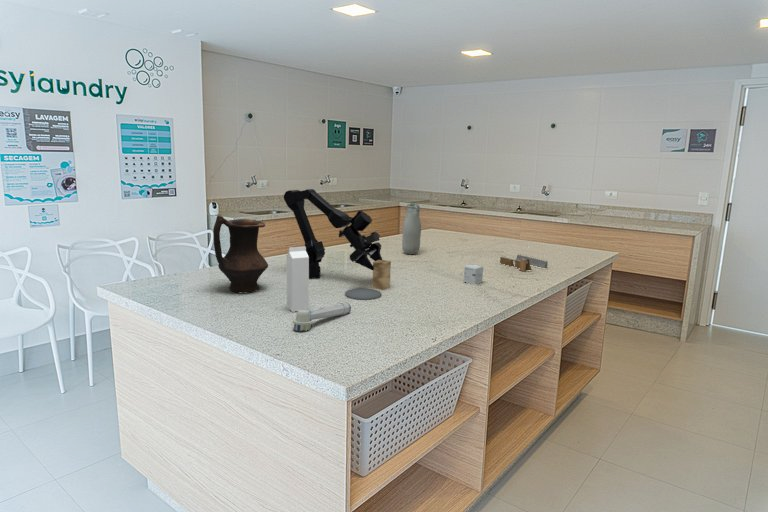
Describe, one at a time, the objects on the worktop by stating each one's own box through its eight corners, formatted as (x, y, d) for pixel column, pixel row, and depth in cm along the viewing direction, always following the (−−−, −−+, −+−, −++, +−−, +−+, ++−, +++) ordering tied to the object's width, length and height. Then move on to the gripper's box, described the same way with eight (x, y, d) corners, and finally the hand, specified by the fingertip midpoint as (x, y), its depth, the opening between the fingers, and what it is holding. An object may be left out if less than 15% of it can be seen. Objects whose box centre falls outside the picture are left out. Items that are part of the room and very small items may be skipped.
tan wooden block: (372, 288, 208) (373, 262, 206) (378, 285, 213) (378, 259, 211) (384, 290, 206) (385, 263, 204) (389, 287, 211) (390, 261, 209)
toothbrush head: (353, 303, 174) (303, 310, 153) (351, 322, 175) (301, 332, 154) (341, 300, 177) (290, 307, 156) (339, 319, 178) (288, 328, 157)
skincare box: (463, 282, 223) (464, 266, 221) (470, 280, 227) (471, 264, 226) (474, 285, 219) (476, 268, 217) (482, 283, 223) (483, 266, 222)
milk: (308, 310, 177) (309, 248, 173) (292, 312, 174) (292, 249, 170) (302, 305, 182) (303, 244, 178) (286, 307, 179) (286, 245, 175)
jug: (253, 281, 214) (251, 209, 208) (277, 290, 201) (276, 214, 195) (204, 289, 199) (201, 212, 193) (227, 299, 186) (225, 218, 180)
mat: (349, 300, 190) (349, 298, 190) (341, 291, 203) (341, 289, 203) (385, 298, 194) (385, 296, 194) (375, 289, 207) (375, 287, 207)
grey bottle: (400, 255, 278) (402, 203, 273) (403, 251, 288) (405, 202, 282) (418, 256, 277) (421, 204, 271) (420, 252, 286) (423, 202, 281)
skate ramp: (561, 270, 255) (562, 256, 253) (512, 278, 236) (514, 262, 234) (516, 259, 279) (517, 246, 277) (468, 266, 259) (469, 251, 258)
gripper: (356, 228, 199) (381, 259, 197) (377, 223, 216) (401, 251, 213) (339, 246, 204) (363, 276, 202) (361, 240, 221) (383, 267, 218)
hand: (378, 267), depth 209 cm, fingers open, 9 cm apart
